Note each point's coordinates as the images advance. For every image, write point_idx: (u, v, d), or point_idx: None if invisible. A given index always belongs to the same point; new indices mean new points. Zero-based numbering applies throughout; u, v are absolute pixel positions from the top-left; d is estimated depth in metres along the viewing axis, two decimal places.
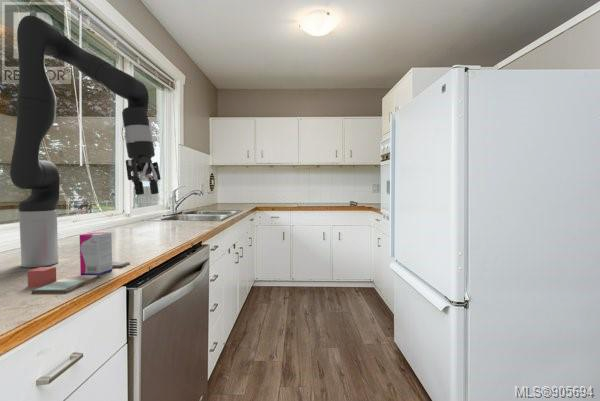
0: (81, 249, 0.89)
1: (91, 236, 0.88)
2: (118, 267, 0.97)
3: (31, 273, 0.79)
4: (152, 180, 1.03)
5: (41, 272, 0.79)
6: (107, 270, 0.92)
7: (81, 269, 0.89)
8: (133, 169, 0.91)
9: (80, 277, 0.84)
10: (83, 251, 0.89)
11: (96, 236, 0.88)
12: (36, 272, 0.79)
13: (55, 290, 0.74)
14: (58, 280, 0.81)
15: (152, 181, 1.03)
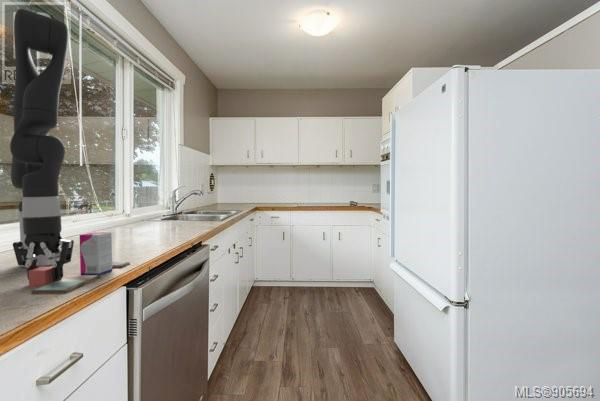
0: (81, 249, 0.89)
1: (91, 236, 0.88)
2: (118, 267, 0.97)
3: (32, 272, 0.79)
4: None
5: (42, 272, 0.79)
6: (107, 270, 0.92)
7: (81, 269, 0.89)
8: None
9: (80, 277, 0.84)
10: (83, 251, 0.89)
11: (96, 236, 0.88)
12: (37, 272, 0.79)
13: (55, 290, 0.74)
14: None
15: None
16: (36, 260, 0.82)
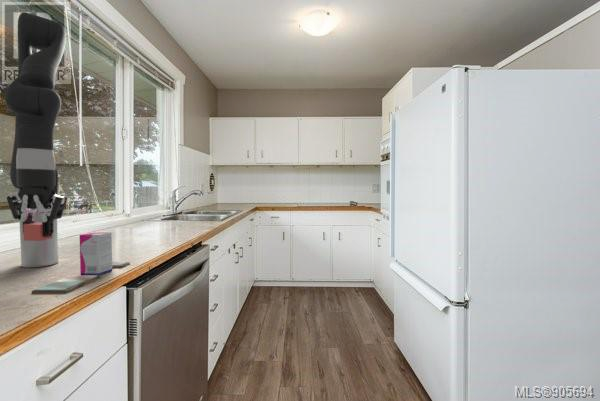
0: (81, 249, 0.89)
1: (91, 236, 0.88)
2: (118, 267, 0.97)
3: (27, 226, 0.78)
4: None
5: (37, 226, 0.78)
6: (107, 270, 0.92)
7: (81, 269, 0.89)
8: None
9: (80, 277, 0.84)
10: (83, 251, 0.89)
11: (96, 236, 0.88)
12: (32, 226, 0.78)
13: (55, 290, 0.74)
14: (58, 280, 0.81)
15: None
16: (31, 215, 0.81)
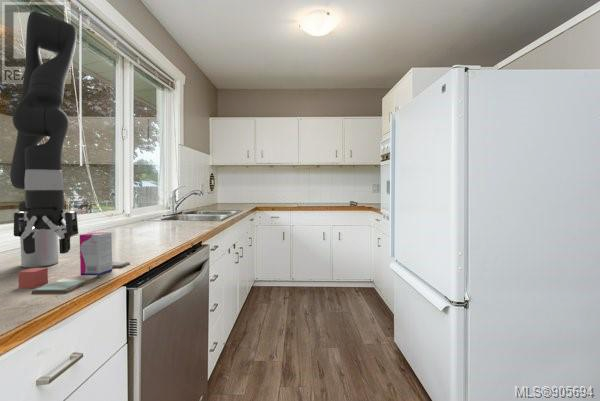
0: (81, 249, 0.89)
1: (91, 236, 0.88)
2: (118, 267, 0.97)
3: (20, 283, 0.78)
4: None
5: (19, 274, 0.78)
6: (107, 270, 0.92)
7: (81, 269, 0.89)
8: None
9: (80, 277, 0.84)
10: (83, 251, 0.89)
11: (96, 236, 0.88)
12: (20, 279, 0.78)
13: (55, 290, 0.74)
14: (58, 280, 0.81)
15: None
16: (33, 233, 0.80)
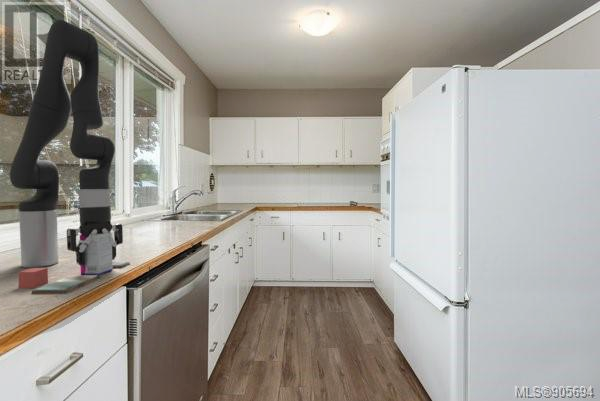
0: None
1: (91, 236, 0.88)
2: (118, 267, 0.97)
3: (20, 283, 0.78)
4: None
5: (19, 274, 0.78)
6: (107, 270, 0.92)
7: (81, 269, 0.89)
8: (70, 241, 0.85)
9: (80, 277, 0.84)
10: (83, 251, 0.89)
11: (96, 236, 0.88)
12: (20, 279, 0.78)
13: (55, 290, 0.74)
14: (58, 280, 0.81)
15: None
16: None
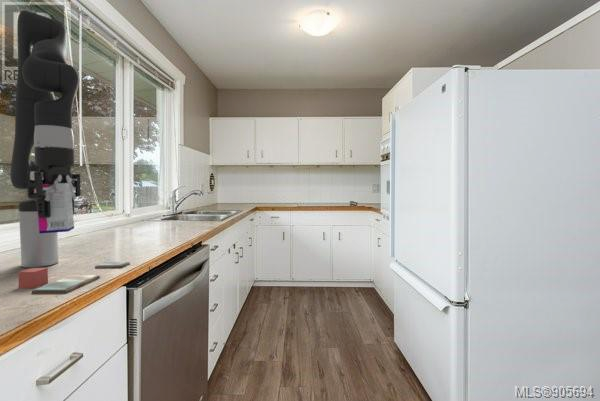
0: None
1: None
2: (118, 267, 0.97)
3: (20, 283, 0.78)
4: None
5: (19, 274, 0.78)
6: (72, 227, 0.78)
7: (40, 226, 0.73)
8: (36, 186, 0.69)
9: (80, 277, 0.84)
10: None
11: (62, 185, 0.74)
12: (20, 279, 0.78)
13: (55, 290, 0.74)
14: (58, 280, 0.81)
15: None
16: None
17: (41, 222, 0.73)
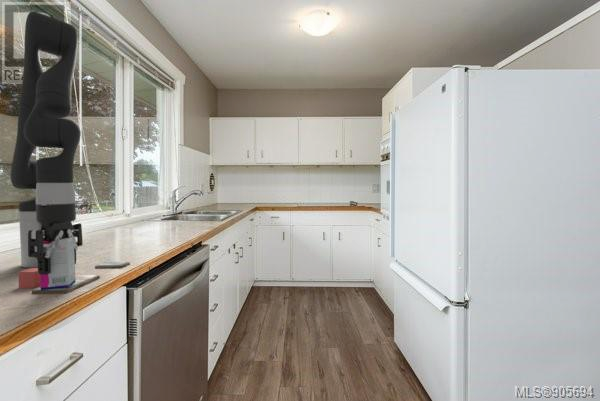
0: None
1: None
2: (118, 267, 0.97)
3: (20, 283, 0.78)
4: None
5: (19, 274, 0.78)
6: (73, 280, 0.79)
7: (42, 283, 0.74)
8: (37, 244, 0.70)
9: (80, 277, 0.84)
10: None
11: (65, 241, 0.75)
12: (20, 279, 0.78)
13: (55, 290, 0.74)
14: None
15: None
16: None
17: (43, 279, 0.74)
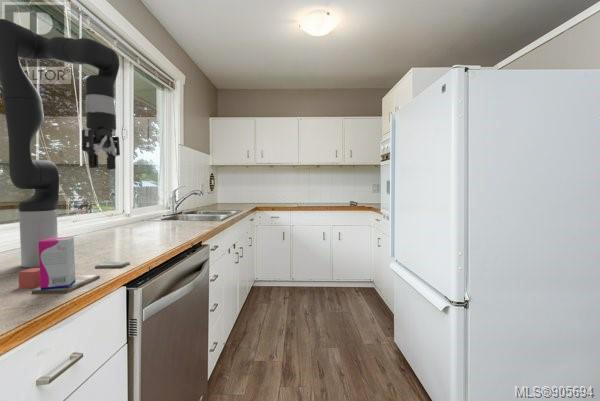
0: (42, 258, 0.74)
1: (57, 242, 0.75)
2: (118, 267, 0.97)
3: (20, 283, 0.78)
4: (110, 155, 0.98)
5: (20, 274, 0.78)
6: (73, 280, 0.79)
7: (42, 283, 0.74)
8: (89, 140, 0.87)
9: (80, 277, 0.84)
10: (45, 261, 0.74)
11: (65, 241, 0.75)
12: (20, 279, 0.78)
13: (55, 290, 0.74)
14: None
15: (110, 156, 0.98)
16: None
17: (43, 279, 0.74)
